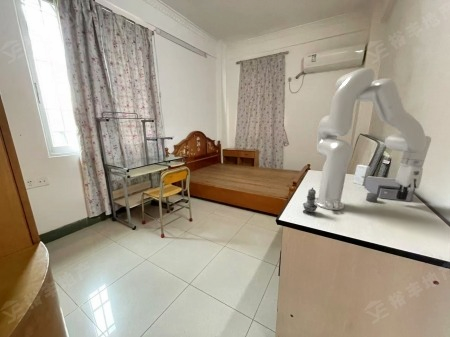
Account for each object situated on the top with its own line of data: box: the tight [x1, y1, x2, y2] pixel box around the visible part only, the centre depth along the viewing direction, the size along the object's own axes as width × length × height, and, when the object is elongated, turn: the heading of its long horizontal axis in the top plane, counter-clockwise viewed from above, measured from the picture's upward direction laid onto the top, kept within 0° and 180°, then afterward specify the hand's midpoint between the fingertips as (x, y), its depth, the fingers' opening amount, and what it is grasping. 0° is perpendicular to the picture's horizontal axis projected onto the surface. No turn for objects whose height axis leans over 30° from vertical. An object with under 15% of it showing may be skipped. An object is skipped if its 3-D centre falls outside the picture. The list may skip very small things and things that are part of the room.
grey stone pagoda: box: [302, 187, 318, 217], centre depth 81 cm, size 6×6×12 cm
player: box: [364, 176, 416, 202], centre depth 104 cm, size 16×15×7 cm
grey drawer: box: [379, 187, 413, 202], centre depth 103 cm, size 16×13×5 cm
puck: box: [365, 192, 378, 203], centre depth 95 cm, size 4×4×4 cm
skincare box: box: [352, 164, 371, 186], centre depth 119 cm, size 6×4×12 cm
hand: (400, 198), depth 90 cm, fingers closed
